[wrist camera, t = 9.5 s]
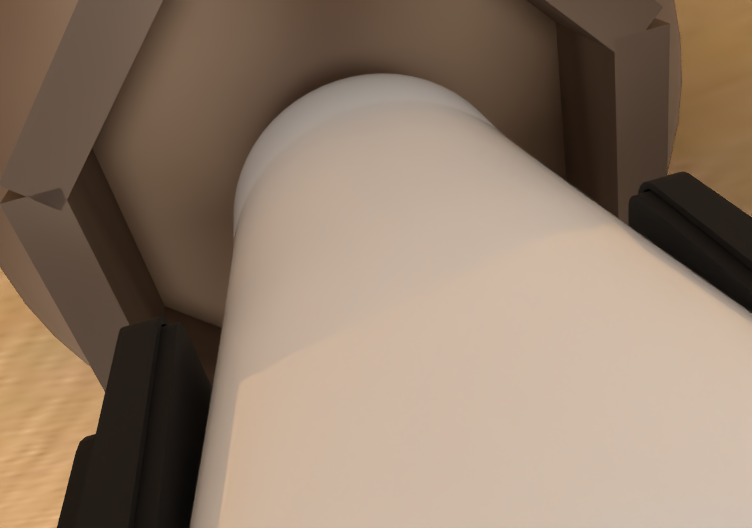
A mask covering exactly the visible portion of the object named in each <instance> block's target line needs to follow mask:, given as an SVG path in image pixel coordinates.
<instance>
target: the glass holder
mask: <svg viewBox="0 0 752 528" xmlns="http://www.w3.org/2000/svg"><path fill="white" fill-rule="evenodd" d="M375 73H392V74H402V75H410V76H414V77H418V78H422V79H426V80H429V81H431V82H434V83H437V84H440V85H442V86H444V87H446V88H448V89H450V90H452V91H454V92H455V93H457V94H458V95H460V96H462V97H463V98H465V99H466V100H467V101H469V102H470V103H471V104H472V105H474V106H475V107H476V108H477V109H478V110H480V111H481V112H482V113H483V114H484V115H485V116H486V117H487V118H488V119H489V120H490V121H491V122H492V123H493V124H494V125H495V126H496V127H497V128H498V129H499V130H500V132H501V133H502V134H503V135H504V136H506V137H507V138H508V139H510V140H511V141H512V142H514V143H515V144H517V145H518V146H519V147H521V148H522V149H523V150H525V151H526V152H527V153H529V154H530V155H531V156H533V157H534V158H536V159H537V160H538V161H540V162H541V163H542V164H544V165H545V166H546V167H548V168H549V169H551V170H552V171H553V172H555V173H556V174H558V175H559V176H560V177H562V178H563V179H564V180H566V181H567V182H569V183H570V184H571V185H573V186H574V187H576V188H577V189H578V190H580V191H581V192H582V193H584V194H585V195H587V196H588V197H589V198H591V199H592V200H594V201H595V202H596V203H598V204H599V205H601V206H602V207H603V208H605V209H606V210H608V211H609V212H610V213H612V214H613V215H615V216H616V217H617V218H619V219H620V220H622V221H623V222H624V223H626V224H627V225H628V204H629V200H630V198H631V197H632V196H634V195H637V194H638V190H639V188H640V185H641V184H642V183H643V182H646V181H650V180H653V179H657V178H660V177H664V176H667V169H668V166H669V163H670V158H671V154H672V149H673V144H674V140H675V135H676V130H677V126H678V118H679V107H680V96H681V85H682V71H681V44H680V32H679V27H678V21H677V15H676V9H675V3H674V0H0V267H1V269H2V270H3V272H4V273H5V275H6V276H7V278H8V279H9V280H10V282H11V283H12V285H13V286H14V288H15V289H16V291H17V292H18V294H19V295H20V296H21V298H22V299H23V301H24V302H25V304H26V305H27V306H28V307H29V308H30V309H31V310H32V312H33V313H34V314H35V315H36V316H37V317H38V318H39V319H40V320H41V322H42V323H43V324H44V325H45V326H46V327H47V328H48V329H49V330H50V332H51V333H52V334H53V335H54V336H55V337H56V338H57V339H59V340H60V341H61V342H62V343H63V344H64V345H65V346H67V347H68V348H69V349H70V350H71V351H72V352H74V353H75V354H76V355H77V356H78V357H79V358H80V359H82V360H83V361H84V362H85V363H86V364H88V365H89V366H91V368H92V369H93V371H94V373H95V375H96V377H97V378H98V380H99V382H100V384H101V385H102V387H103V389H104V391H106V387H107V383H108V378H109V374H110V369H111V365H112V360H113V356H114V351H115V347H116V342H117V338H118V334H119V331H120V329H121V328H122V327H124V326H128V325H132V324H135V323H139V322H142V321H146V320H150V319H153V318H157V317H160V316H163V317H165V318H166V320H167V321H168V322H169V324H170V325H171V324H174V323H178V322H181V323H182V324H183V325H184V327H185V329H186V331H187V333H188V335H189V337H190V339H191V342H192V344H193V346H194V348H195V351H196V353H197V355H198V357H199V360H200V362H201V364H202V366H203V369H204V371H205V373H206V375H207V377H208V380H209V382H210V384H211V386H212V384H213V377H214V371H215V365H216V359H217V352H218V346H219V339H220V333H221V326H222V320H223V314H224V307H225V300H226V294H227V287H228V280H229V273H230V266H231V259H232V252H233V206H234V197H235V192H236V187H237V182H238V179H239V176H240V173H241V170H242V167H243V165H244V163H245V160H246V158H247V156H248V154H249V152H250V150H251V149H252V147H253V145H254V143H255V142H256V140H257V139H258V138H259V136H260V135H261V133H262V132H263V131H264V130H265V128H266V127H267V126H268V125H269V124H270V123H271V122H272V120H273V119H274V118H276V117H277V116H278V115H279V114H280V113H281V112H282V111H283V110H284V109H285V108H287V107H288V106H289V105H291V104H292V103H293V102H295V101H296V100H297V99H299V98H301V97H302V96H304V95H305V94H307V93H309V92H311V91H313V90H315V89H317V88H319V87H321V86H323V85H326V84H328V83H331V82H334V81H336V80H340V79H344V78H347V77H351V76H357V75H363V74H375Z"/></svg>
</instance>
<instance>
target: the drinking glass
mask: <svg viewBox="0 0 752 528" xmlns="http://www.w3.org/2000/svg"><path fill="white" fill-rule="evenodd" d="M189 528H752V313H751V312H750V311H748V310H747V309H746V308H744V307H743V306H741V305H740V304H739V303H737V302H736V301H734V300H733V299H731V298H730V297H729V296H727V295H726V294H724V293H723V292H722V291H720V290H719V289H717V288H716V287H714V286H713V285H712V284H710V283H709V282H707V281H706V280H705V279H703V278H702V277H700V276H699V275H697V274H696V273H695V272H693V271H692V270H690V269H689V268H688V267H686V266H685V265H683V264H682V263H680V262H679V261H678V260H676V259H675V258H673V257H672V256H671V255H669V254H668V253H666V252H665V251H664V250H662V249H661V248H659V247H658V246H657V245H655V244H654V243H652V242H651V241H650V240H648V239H647V238H645V237H644V236H643V235H641V234H640V233H638V232H637V231H636V230H634V229H633V228H631V227H630V226H629V225H627V224H626V223H624V222H623V221H622V220H620V219H619V218H617V217H616V216H615V215H613V214H612V213H610V212H609V211H608V210H606V209H605V208H603V207H602V206H601V205H599V204H598V203H596V202H595V201H594V200H592V199H591V198H589V197H588V196H587V195H585V194H584V193H582V192H581V191H580V190H578V189H577V188H576V187H574V186H573V185H571V184H570V183H569V182H567V181H566V180H564V179H563V178H562V177H560V176H559V175H558V174H556V173H555V172H553V171H552V170H551V169H549V168H548V167H546V166H545V165H544V164H542V163H541V162H540V161H538V160H537V159H536V158H534V157H533V156H531V155H530V154H529V153H527V152H526V151H525V150H523V149H522V148H521V147H519V146H518V145H517V144H515V143H514V142H512V141H511V140H510V139H508V138H507V137H506V136H504V135H503V134H502V133H501V132H500V130H499V129H498V128H497V127H496V126H495V125H494V124H493V123H492V122H491V121H490V120H489V119H488V118H487V117H486V116H485V115H484V114H483V113H482V112H481V111H480V110H478V109H477V108H476V107H475V106H474V105H472V104H471V103H470V102H469V101H467V100H466V99H465V98H463V97H462V96H460V95H458V94H457V93H455V92H454V91H452V90H450V89H448V88H446V87H444V86H442V85H440V84H437V83H434V82H431V81H429V80H426V79H422V78H418V77H414V76H410V75H402V74H392V73H375V74H363V75H357V76H351V77H347V78H344V79H340V80H336V81H334V82H331V83H328V84H326V85H323V86H321V87H319V88H317V89H315V90H313V91H311V92H309V93H307V94H305V95H304V96H302V97H301V98H299V99H297V100H296V101H295V102H293V103H292V104H291V105H289V106H288V107H287V108H285V109H284V110H283V111H282V112H281V113H280V114H279V115H278V116H277V117H276V118H274V119H273V120H272V122H271V123H270V124H269V125H268V126H267V127H266V128H265V130H264V131H263V132H262V133H261V135H260V136H259V138H258V139H257V140H256V142H255V143H254V145H253V147H252V149H251V150H250V152H249V154H248V156H247V158H246V160H245V163H244V165H243V167H242V170H241V173H240V176H239V179H238V182H237V187H236V192H235V197H234V206H233V252H232V259H231V266H230V273H229V280H228V287H227V294H226V300H225V307H224V314H223V320H222V326H221V333H220V339H219V346H218V352H217V359H216V365H215V371H214V377H213V384H212V390H211V396H210V402H209V408H208V415H207V421H206V427H205V433H204V439H203V446H202V452H201V458H200V464H199V470H198V476H197V482H196V488H195V494H194V500H193V506H192V512H191V518H190V524H189Z"/></svg>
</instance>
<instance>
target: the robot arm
mask: <svg viewBox="0 0 752 528" xmlns="http://www.w3.org/2000/svg"><path fill="white" fill-rule="evenodd" d="M628 225H629V226H630V227H631V228H633V229H634V230H636V231H637V232H638V233H640V234H641V235H643V236H644V237H645V238H647V239H648V240H650V241H651V242H652V243H654V244H655V245H657V246H658V247H659V248H661V249H662V250H664V251H665V252H666V253H668V254H669V255H671V256H672V257H673V258H675V259H676V260H678V261H679V262H680V263H682V264H683V265H685V266H686V267H688V268H689V269H690V270H692V271H693V272H695V273H696V274H697V275H699V276H700V277H702V278H703V279H705V280H706V281H707V282H709V283H710V284H712V285H713V286H714V287H716V288H717V289H719V290H720V291H722V292H723V293H724V294H726V295H727V296H729V297H730V298H731V299H733V300H734V301H736V302H737V303H739V304H740V305H741V306H743V307H744V308H746V309H747V310H748V311H750V312H751V313H752V217H750V216H749V215H747V214H746V213H745V212H743V211H742V210H740V209H739V208H737V207H736V206H735V205H733V204H732V203H730V202H729V201H727V200H726V199H725V198H723V197H722V196H720V195H719V194H717V193H716V192H715V191H713V190H712V189H710V188H709V187H707V186H706V185H705V184H703V183H702V182H700V181H699V180H697V179H696V178H694V177H693V176H692V175H690V174H688V173H686V172H678V173H675V174H671V175H668V176H664V177H660V178H657V179H653V180H650V181H646V182H643V183H642V184H641V185H640V188H639V190H638V194H637V195H634V196H632V197H631V198H630V200H629V204H628ZM211 390H212V386H211V384H210V382H209V380H208V377H207V375H206V373H205V371H204V369H203V366H202V364H201V362H200V360H199V357H198V355H197V353H196V351H195V348H194V346H193V344H192V342H191V339H190V337H189V335H188V333H187V331H186V329H185V327H184V325H183V324H182V323H181V322H178V323H174V324H171V325H170V324H169V322H168V321H167V320H166V318H165V317H163V316H160V317H157V318H153V319H150V320H146V321H142V322H139V323H135V324H132V325H128V326H124V327H122V328H121V329H120V331H119V334H118V338H117V342H116V347H115V351H114V356H113V360H112V365H111V369H110V374H109V378H108V383H107V387H106V391H105V396H104V400H103V405H102V409H101V414H100V418H99V423H98V427H97V431H96V434H94V435H91V436H87V437H85V438H84V439H83V440H82V441H80V443H79V446H78V448H77V451H76V454H75V458H74V462H73V466H72V470H71V474H70V478H69V482H68V486H67V490H66V494H65V498H64V502H63V506H62V510H61V514H60V518H59V522H58V526H57V528H189V524H190V518H191V512H192V506H193V500H194V494H195V488H196V482H197V476H198V470H199V464H200V458H201V452H202V446H203V439H204V433H205V427H206V421H207V415H208V408H209V402H210V396H211Z"/></svg>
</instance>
